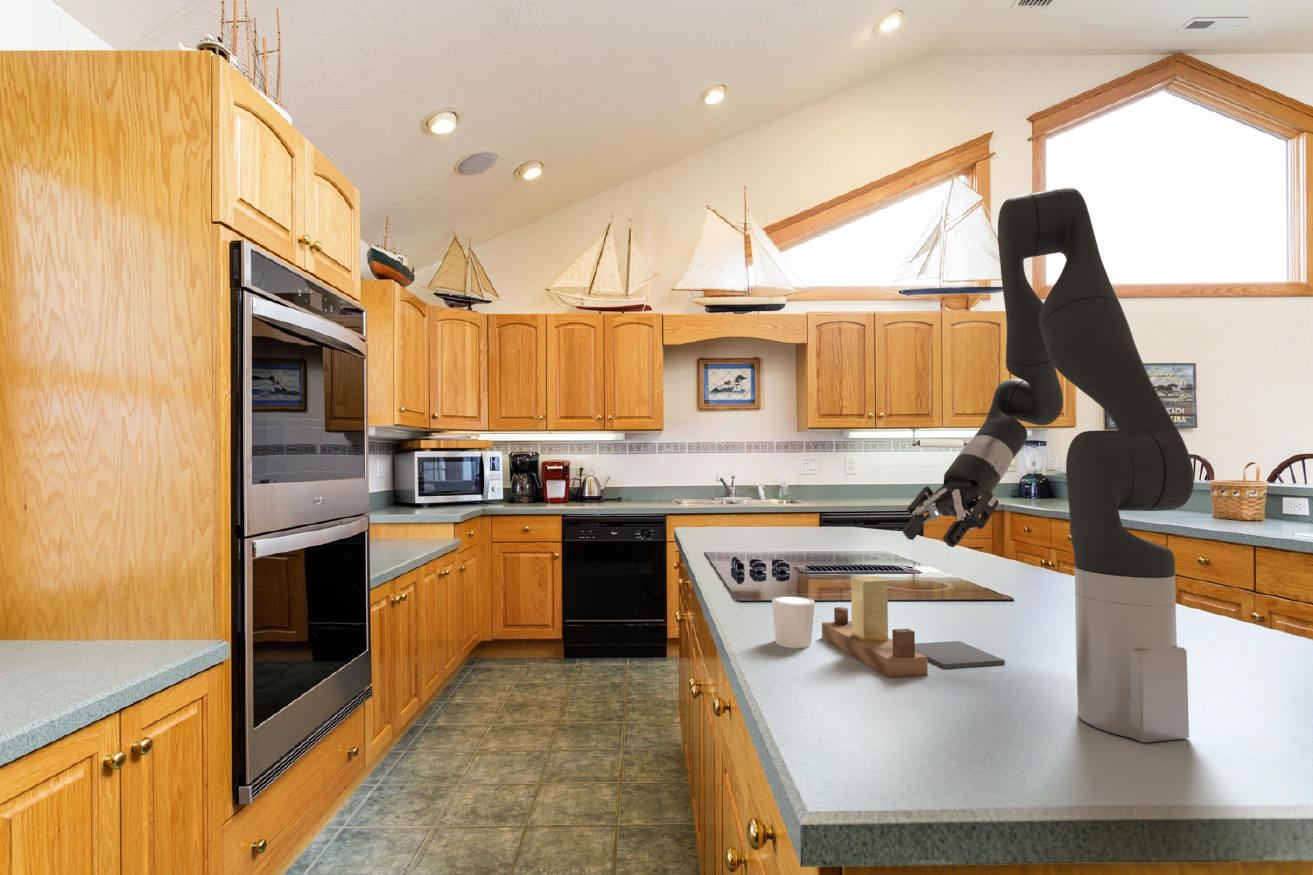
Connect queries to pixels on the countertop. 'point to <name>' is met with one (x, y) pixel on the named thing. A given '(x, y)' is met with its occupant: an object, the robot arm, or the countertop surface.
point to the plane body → (877, 648)
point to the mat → (956, 655)
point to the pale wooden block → (869, 608)
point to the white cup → (793, 621)
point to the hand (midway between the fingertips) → (926, 539)
